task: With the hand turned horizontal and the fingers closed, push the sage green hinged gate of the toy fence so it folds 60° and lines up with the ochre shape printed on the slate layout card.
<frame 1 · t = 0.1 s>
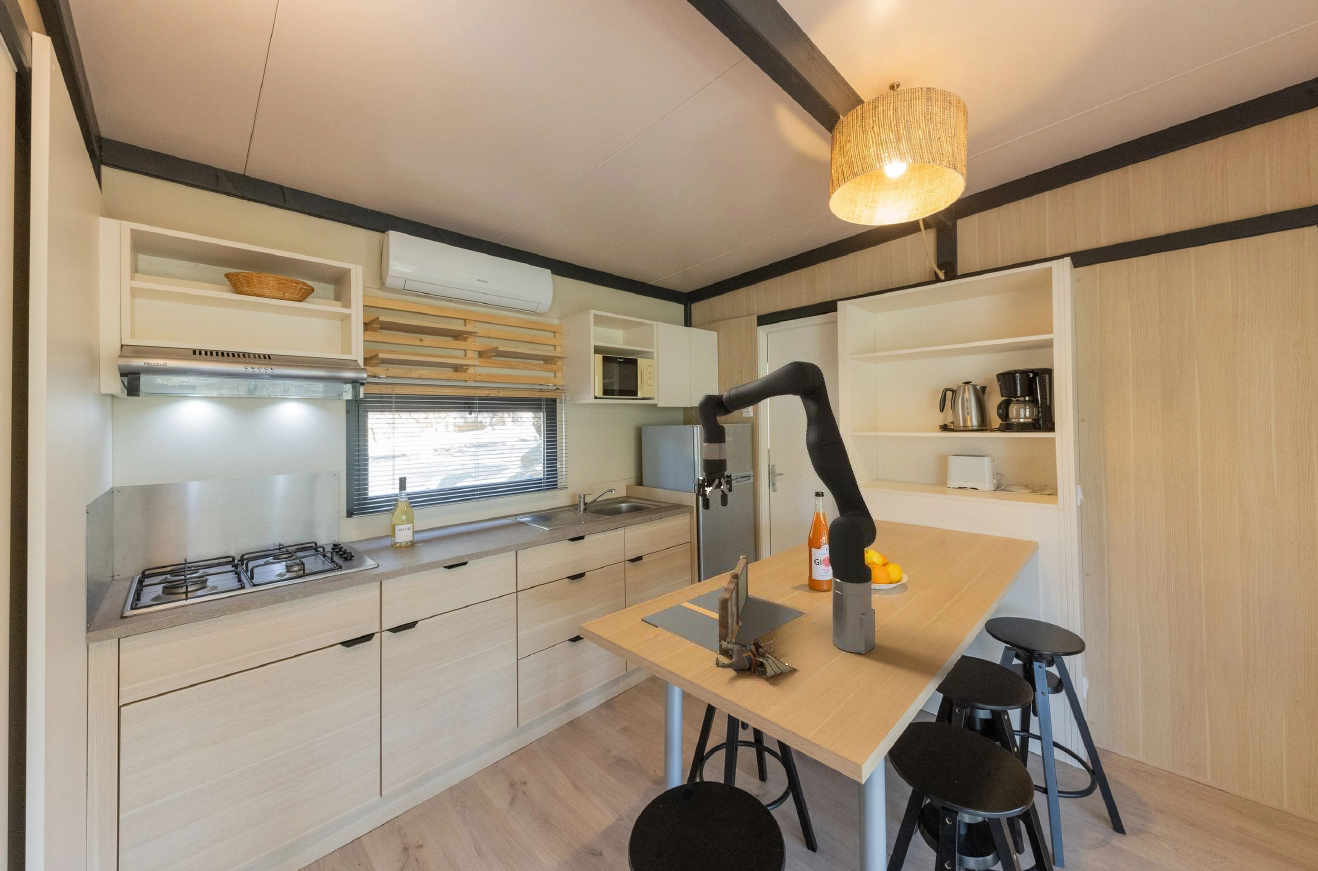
hand: (715, 507, 154), 29 cm above the table, tool pointing down, fingers open, 8 cm apart
fence gate: (740, 585, 145), point 7 cm above the table, hinge at 0.0°
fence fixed: (734, 623, 135), resting on layout card
figurine: (756, 670, 112), on the table, touching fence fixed, layout card
layout card: (724, 617, 140), on the table
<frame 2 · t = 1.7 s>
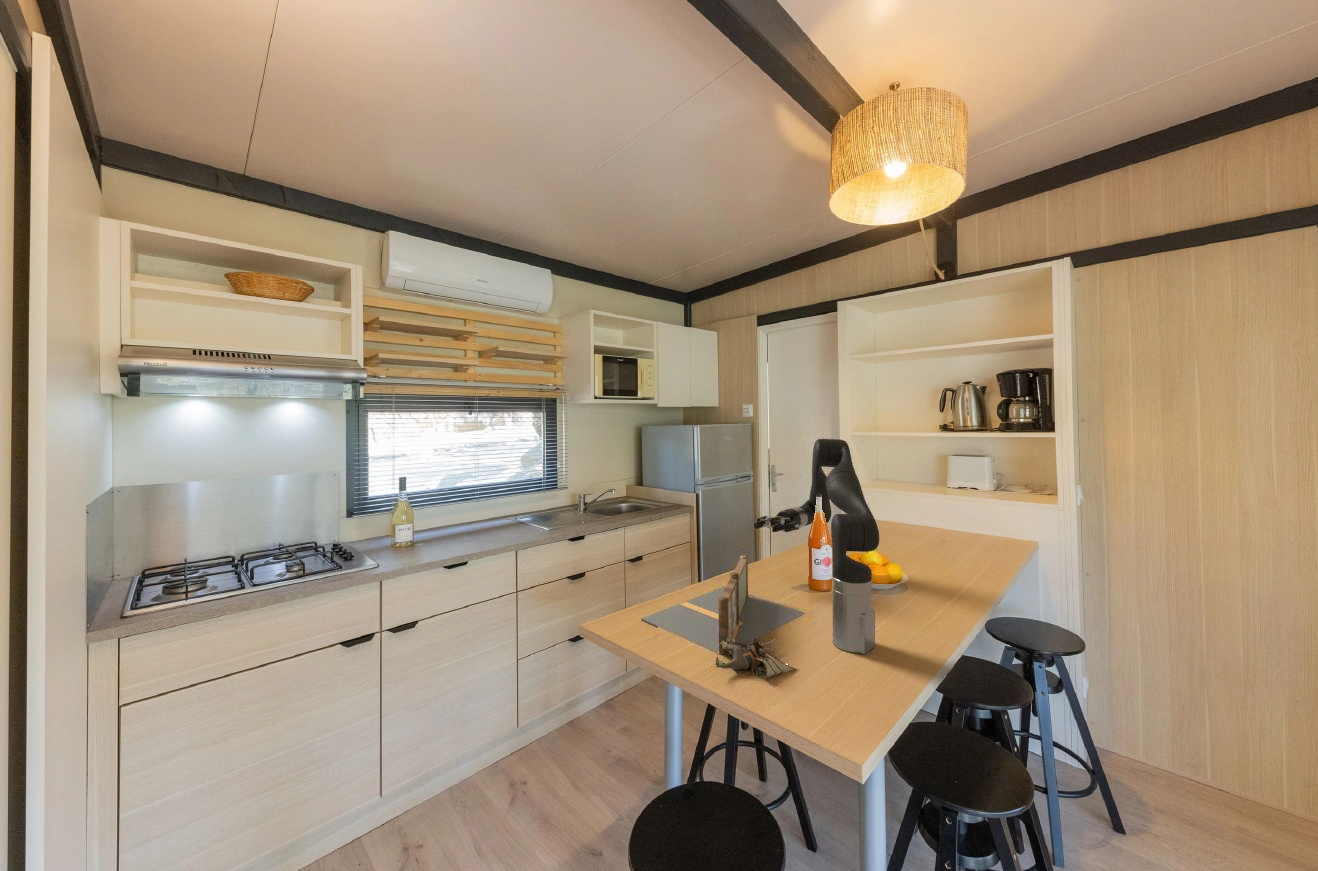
hand: (764, 527, 157), 22 cm above the table, tool horizontal, fingers open, 6 cm apart
nothing on the table moved.
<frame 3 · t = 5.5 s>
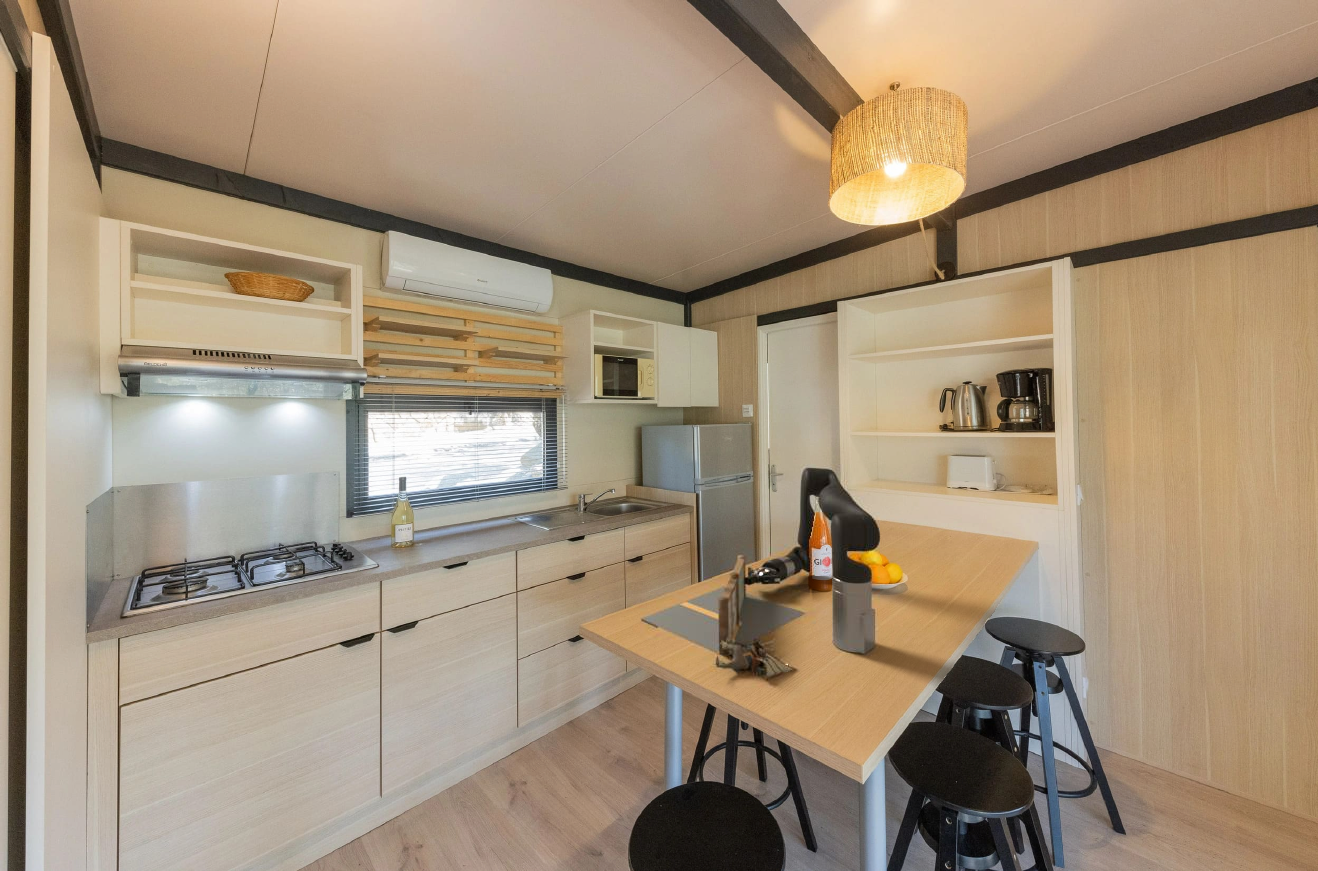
hand: (746, 581, 151), 6 cm above the table, tool horizontal, fingers closed
fence gate: (738, 585, 146), point 7 cm above the table, hinge at 2.1°
everything else where it was.
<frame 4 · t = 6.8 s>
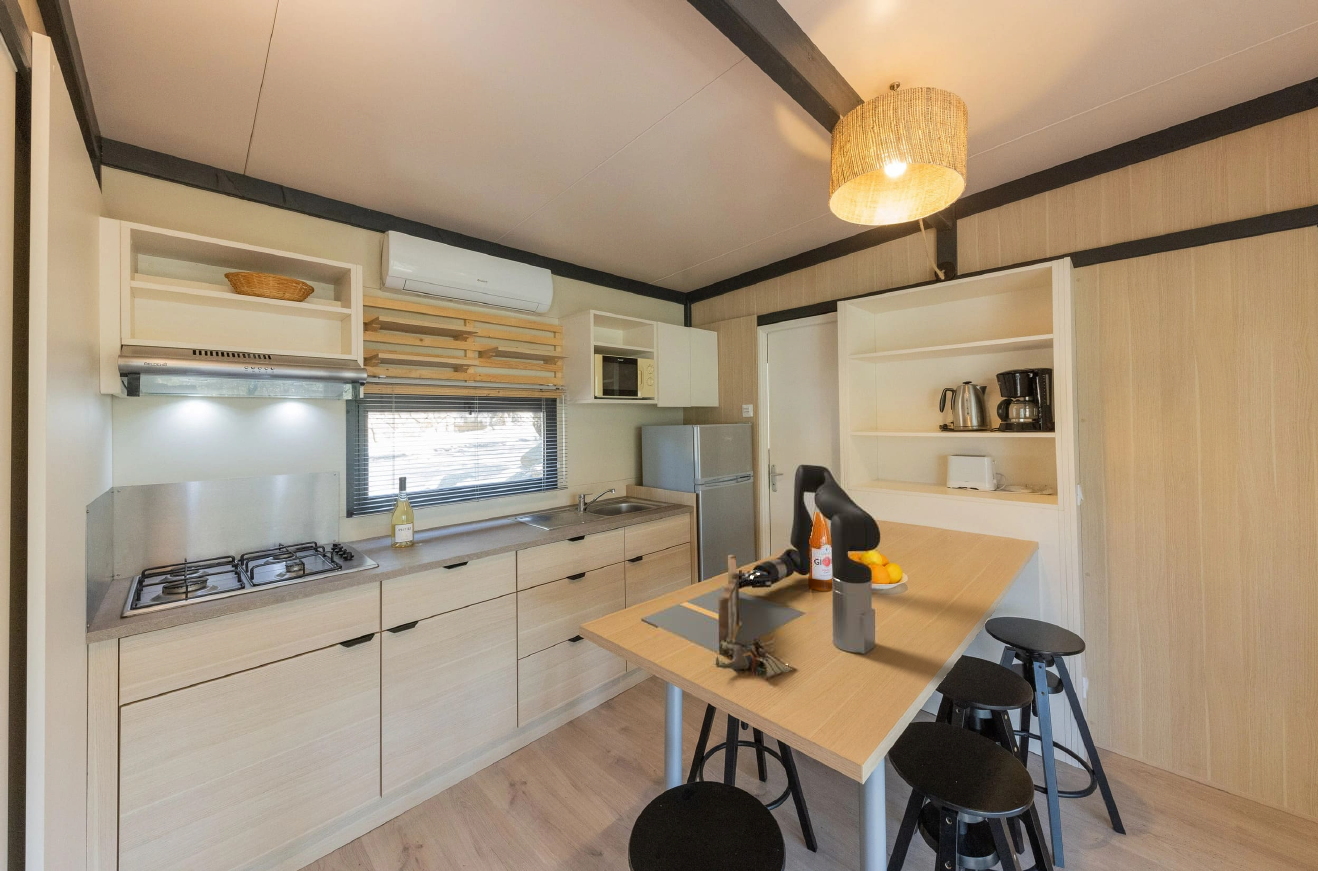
hand: (737, 585, 148), 6 cm above the table, tool horizontal, fingers closed
fence gate: (733, 585, 146), point 7 cm above the table, hinge at 10.9°, touching gripper
everything else where it was.
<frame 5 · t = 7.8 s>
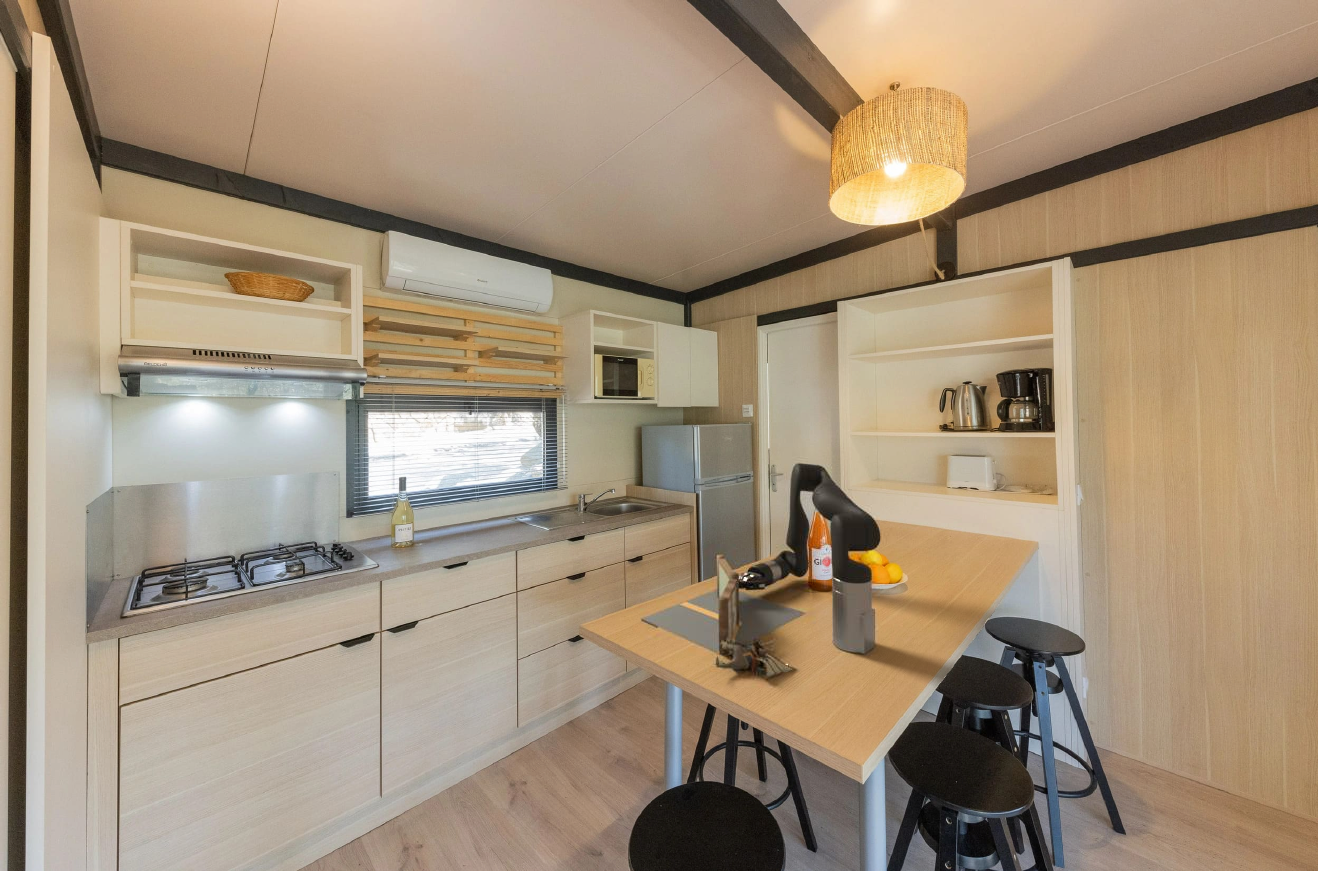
hand: (730, 587, 146), 6 cm above the table, tool horizontal, fingers closed
fence gate: (726, 585, 146), point 7 cm above the table, hinge at 21.2°, touching gripper
everything else where it was.
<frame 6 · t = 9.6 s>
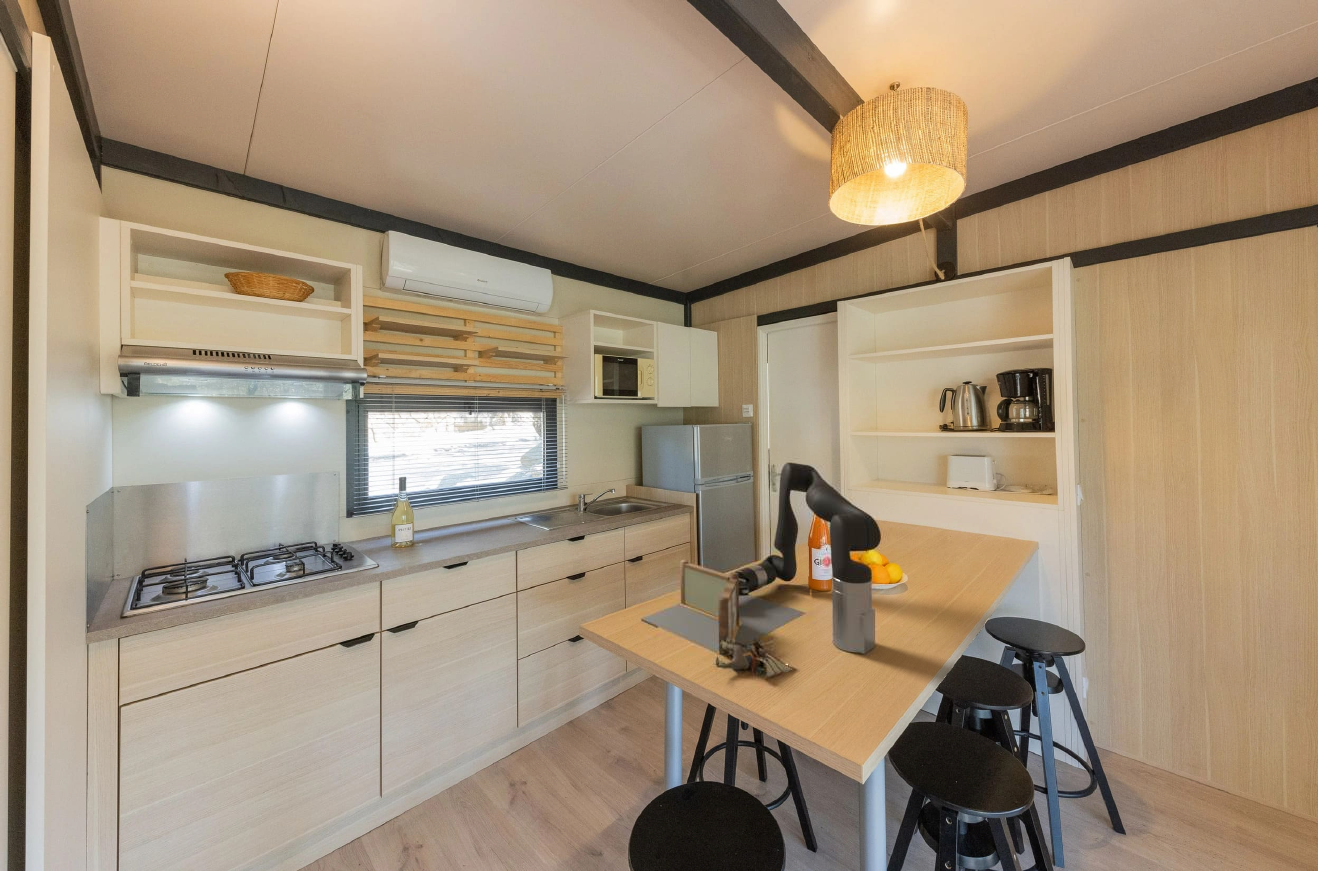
hand: (712, 593, 142), 6 cm above the table, tool horizontal, fingers closed
fence gate: (704, 588, 143), point 7 cm above the table, hinge at 58.8°, touching gripper
everything else where it was.
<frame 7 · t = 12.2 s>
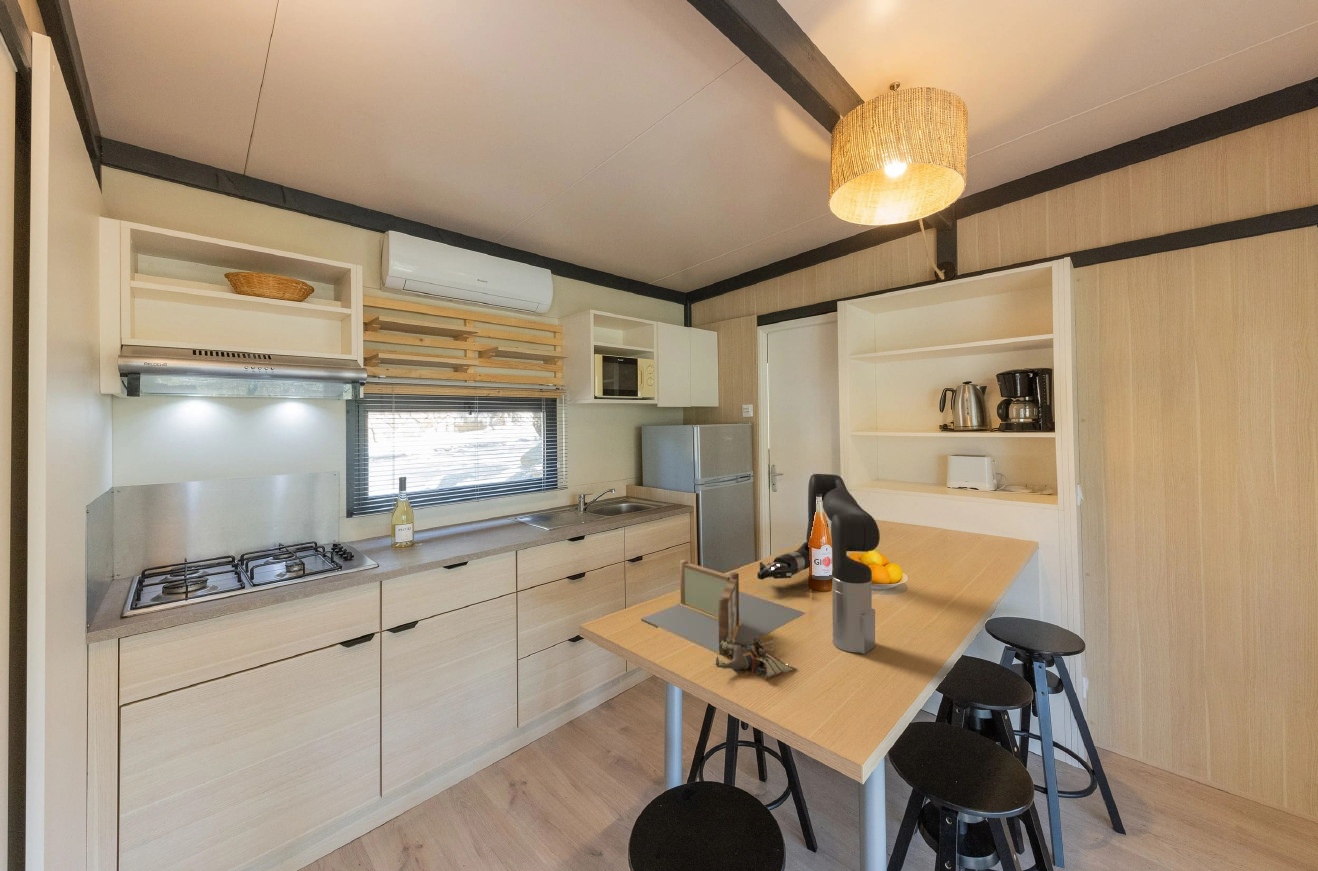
hand: (759, 576, 156), 7 cm above the table, tool horizontal, fingers closed
fence gate: (704, 588, 143), point 7 cm above the table, hinge at 59.1°
everything else where it was.
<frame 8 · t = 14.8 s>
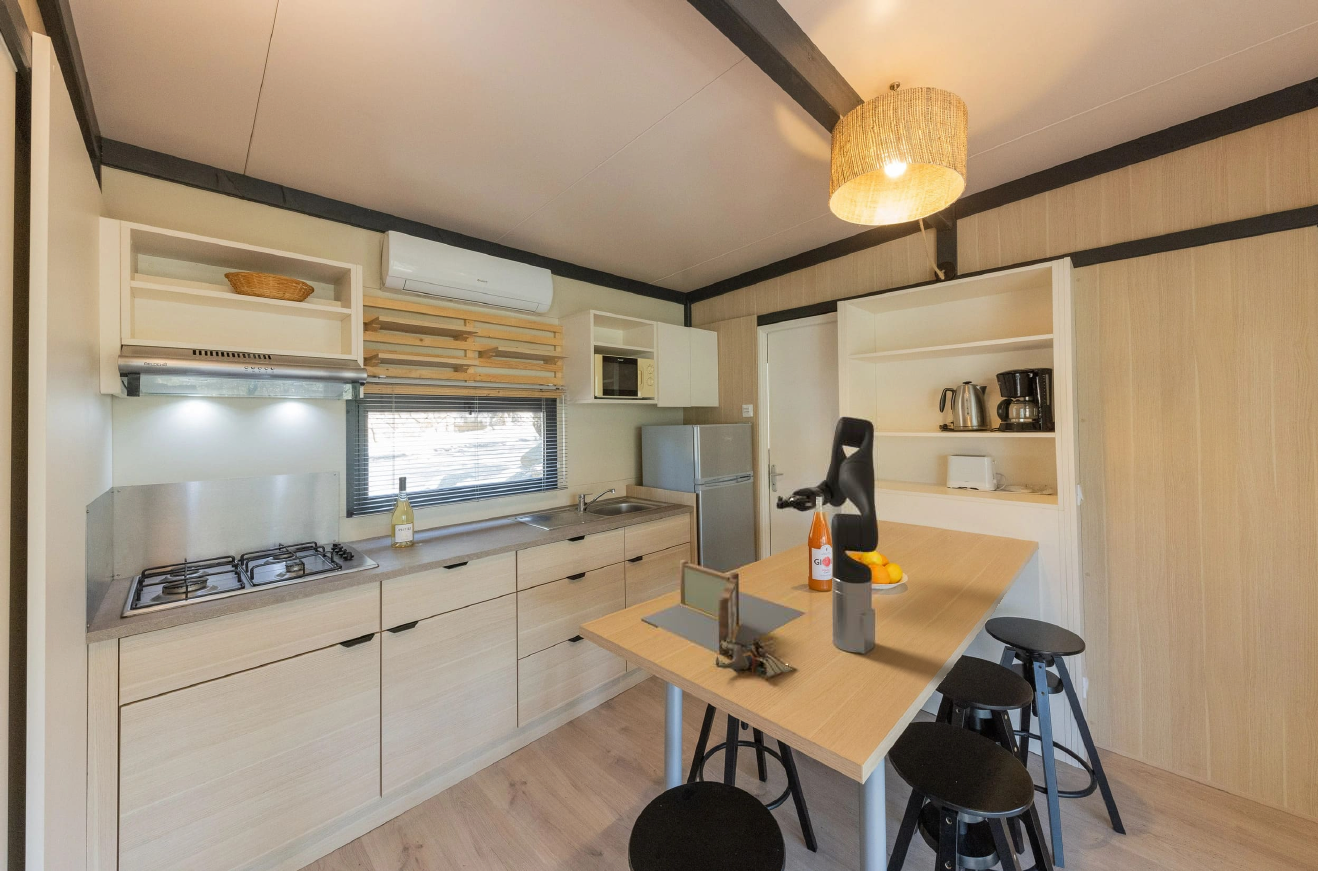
hand: (778, 505, 152), 30 cm above the table, tool horizontal, fingers closed
nothing on the table moved.
at the end: fence gate at +59° (first picture: +0°) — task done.
